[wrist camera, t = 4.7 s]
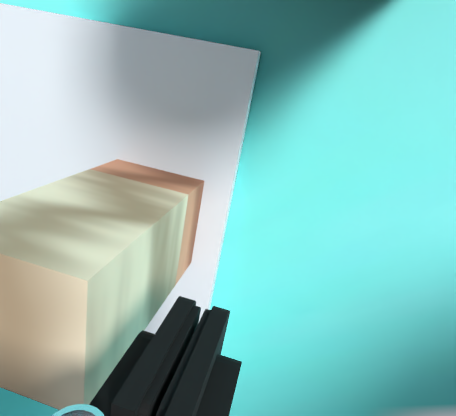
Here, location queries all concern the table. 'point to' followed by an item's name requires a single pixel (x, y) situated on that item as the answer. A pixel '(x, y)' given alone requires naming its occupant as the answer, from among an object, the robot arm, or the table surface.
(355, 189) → the table surface
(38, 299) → the maple block
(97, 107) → the white square plate
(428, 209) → the table surface
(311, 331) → the table surface
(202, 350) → the robot arm
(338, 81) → the table surface
